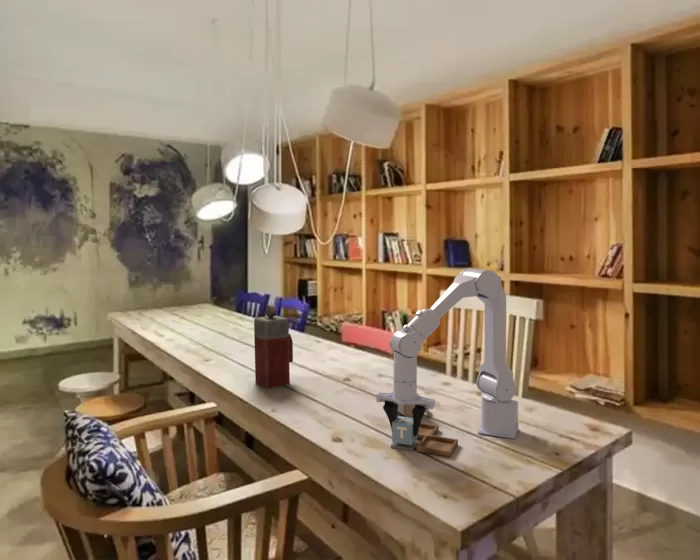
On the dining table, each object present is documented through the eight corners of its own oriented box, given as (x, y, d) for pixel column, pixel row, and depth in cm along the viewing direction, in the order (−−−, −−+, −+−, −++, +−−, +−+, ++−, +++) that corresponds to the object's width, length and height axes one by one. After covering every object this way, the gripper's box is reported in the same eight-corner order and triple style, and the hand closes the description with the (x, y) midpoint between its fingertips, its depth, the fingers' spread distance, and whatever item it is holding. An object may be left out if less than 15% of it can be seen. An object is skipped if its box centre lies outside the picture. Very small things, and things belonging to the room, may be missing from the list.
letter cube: (417, 437, 135) (417, 418, 134) (411, 445, 130) (411, 425, 129) (398, 434, 137) (398, 415, 136) (392, 442, 132) (392, 422, 131)
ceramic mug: (404, 421, 150) (404, 394, 150) (389, 412, 158) (389, 386, 157) (435, 415, 155) (435, 389, 154) (419, 407, 162) (419, 382, 162)
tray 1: (438, 430, 143) (438, 425, 143) (430, 441, 136) (430, 436, 136) (409, 426, 146) (409, 421, 146) (399, 436, 139) (399, 431, 139)
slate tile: (418, 442, 135) (418, 440, 135) (412, 451, 130) (412, 448, 130) (398, 439, 137) (397, 437, 137) (390, 447, 132) (390, 445, 132)
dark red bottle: (295, 383, 188) (294, 304, 186) (267, 389, 181) (265, 307, 179) (282, 377, 195) (281, 301, 193) (255, 383, 189) (253, 304, 186)
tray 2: (457, 444, 134) (457, 439, 133) (450, 457, 126) (450, 451, 126) (426, 439, 137) (426, 434, 137) (416, 452, 129) (416, 446, 129)
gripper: (371, 380, 131) (372, 434, 132) (429, 387, 125) (429, 443, 127) (381, 373, 138) (381, 424, 139) (437, 379, 132) (436, 432, 133)
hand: (404, 432), depth 133 cm, fingers closed on letter cube, 5 cm apart
